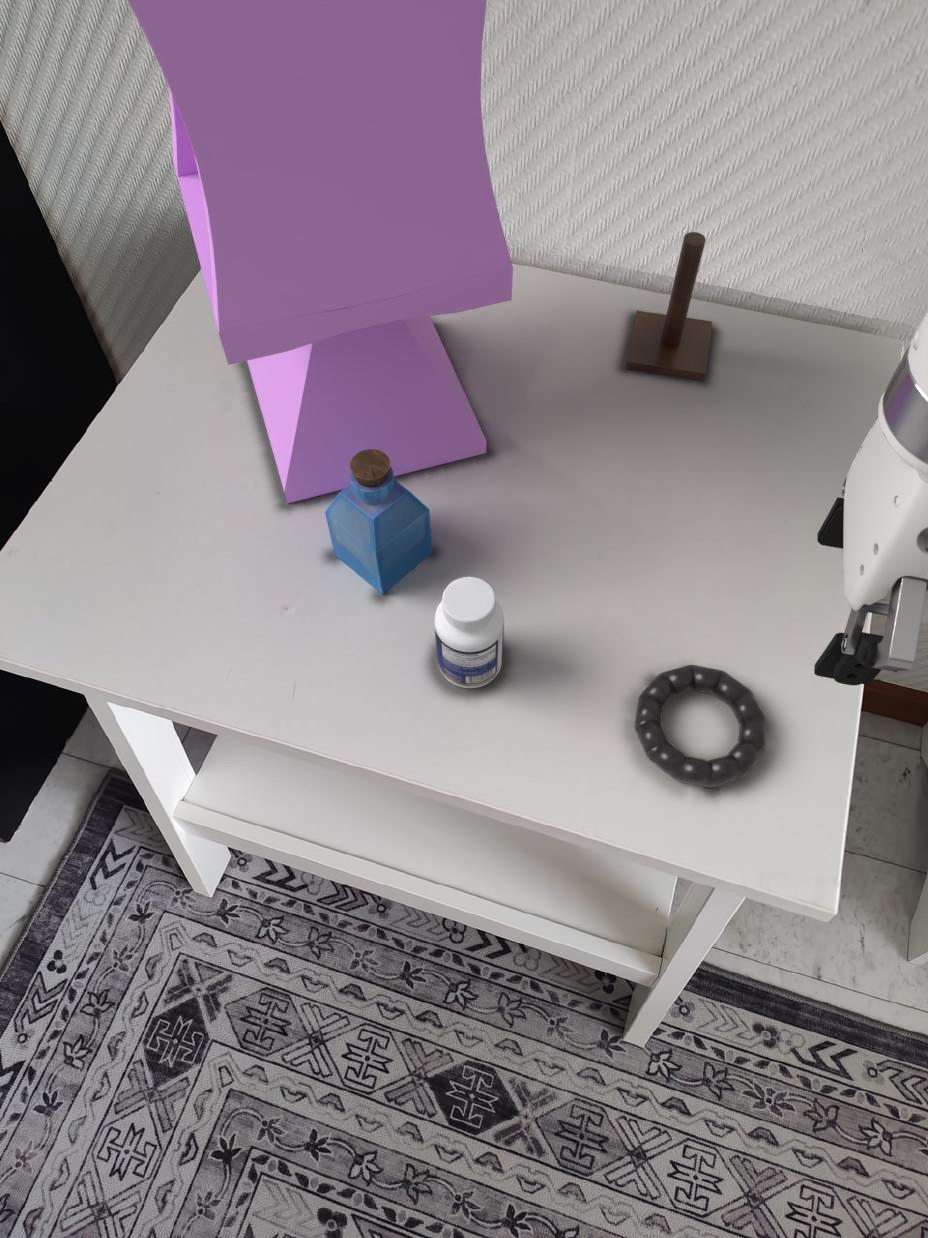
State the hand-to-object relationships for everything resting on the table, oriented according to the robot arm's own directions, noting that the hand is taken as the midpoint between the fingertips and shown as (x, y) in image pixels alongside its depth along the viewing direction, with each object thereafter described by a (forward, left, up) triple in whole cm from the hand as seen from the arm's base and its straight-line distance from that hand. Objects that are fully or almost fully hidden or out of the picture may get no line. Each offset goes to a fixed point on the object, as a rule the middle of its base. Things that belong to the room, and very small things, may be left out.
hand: (840, 607), depth 54 cm
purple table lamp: (+41, -27, -19) cm, 52 cm away
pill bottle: (+24, -1, -19) cm, 30 cm away
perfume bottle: (+34, -10, -19) cm, 40 cm away
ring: (+5, +1, -17) cm, 18 cm away
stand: (+12, -42, -18) cm, 47 cm away
